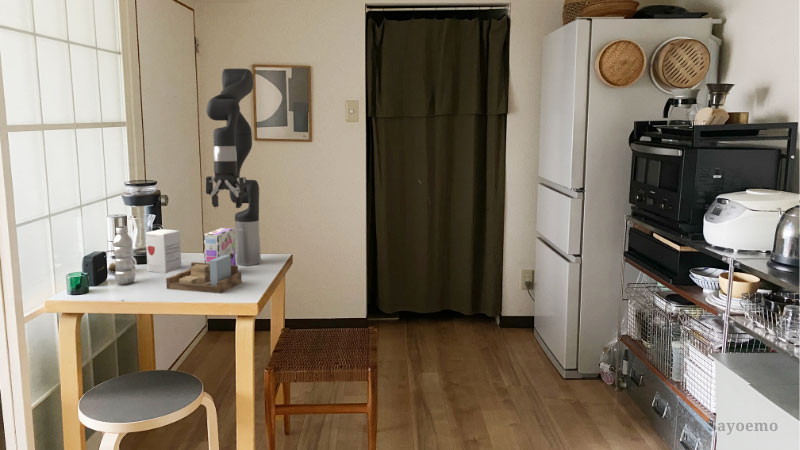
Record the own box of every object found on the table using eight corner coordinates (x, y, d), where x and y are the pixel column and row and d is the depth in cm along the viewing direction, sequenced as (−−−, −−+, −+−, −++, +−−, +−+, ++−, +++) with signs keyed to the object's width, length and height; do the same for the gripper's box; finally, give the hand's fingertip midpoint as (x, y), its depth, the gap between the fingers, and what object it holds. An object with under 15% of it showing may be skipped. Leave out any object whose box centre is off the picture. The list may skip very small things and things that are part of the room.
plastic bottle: (140, 282, 228) (136, 226, 224) (126, 286, 221) (122, 229, 218) (125, 280, 230) (121, 225, 226) (111, 285, 223) (106, 228, 220)
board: (225, 283, 222) (223, 254, 221) (231, 283, 222) (230, 255, 220) (210, 290, 214) (209, 260, 212) (217, 290, 213) (216, 261, 212)
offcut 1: (187, 284, 220) (186, 276, 220) (199, 286, 219) (198, 277, 218) (179, 287, 217) (178, 279, 216) (191, 289, 215) (191, 280, 214)
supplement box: (146, 271, 243) (144, 232, 240) (163, 266, 251) (161, 228, 248) (165, 273, 239) (163, 234, 237) (182, 268, 248) (180, 230, 245)
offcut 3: (197, 280, 226) (197, 272, 225) (212, 281, 224) (212, 273, 224) (189, 284, 221) (188, 275, 221) (204, 285, 219) (204, 276, 219)
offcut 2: (196, 272, 225) (196, 264, 224) (210, 273, 224) (209, 264, 224) (190, 275, 220) (190, 267, 220) (204, 276, 220) (204, 267, 219)
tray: (190, 281, 229) (189, 261, 228) (241, 285, 224) (240, 265, 223) (166, 291, 216) (165, 271, 214) (220, 296, 210) (219, 275, 209)
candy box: (219, 279, 232) (217, 234, 229) (204, 278, 233) (202, 233, 230) (236, 270, 245) (235, 227, 242) (222, 269, 246) (220, 227, 243)
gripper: (249, 159, 219) (251, 206, 221) (212, 158, 222) (214, 205, 225) (238, 160, 211) (240, 209, 214) (200, 159, 215) (202, 208, 218)
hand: (227, 207), depth 219 cm, fingers open, 8 cm apart
